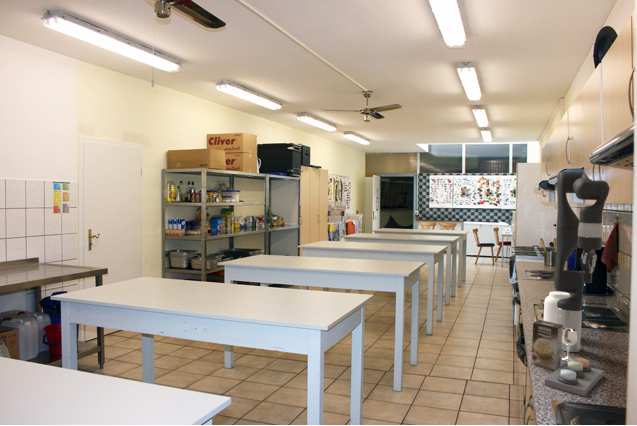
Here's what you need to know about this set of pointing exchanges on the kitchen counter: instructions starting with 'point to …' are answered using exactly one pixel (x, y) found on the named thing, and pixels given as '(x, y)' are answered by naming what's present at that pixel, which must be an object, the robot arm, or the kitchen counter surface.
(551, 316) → the white bottle
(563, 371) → the white button
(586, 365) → the brick button
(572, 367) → the sage button
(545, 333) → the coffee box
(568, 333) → the wineglass
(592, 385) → the panel
